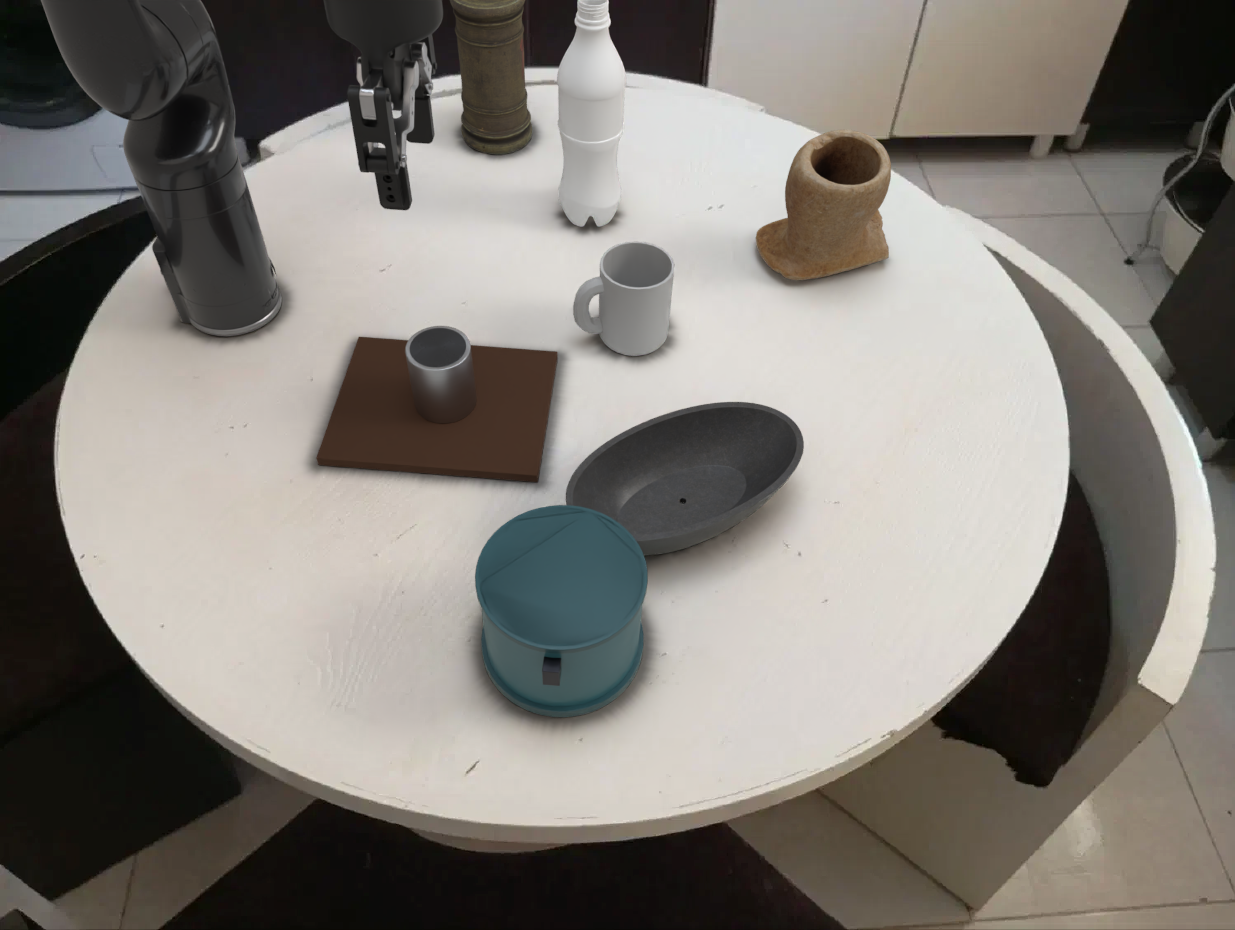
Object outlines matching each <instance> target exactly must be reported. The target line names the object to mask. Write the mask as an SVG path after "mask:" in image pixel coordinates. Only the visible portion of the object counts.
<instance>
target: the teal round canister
mask: <svg viewBox="0 0 1235 930" xmlns="http://www.w3.org/2000/svg"><path fill="white" fill-rule="evenodd" d="M648 576H649V575H648V565H647V560H646V558H645V555H643V552H642V550H641V548H640V546H639V544H638V543H637V541H636V540H635V538H634V537H633V536H632V535H631V534H630V533H629V531H628V530H627V529H626V528H624V527H623V526H622V525H621V524H620V523H618V522H617V521H615V520H614V519H612V518H611V517H609V516H607V515H605V514H603V513H601V512H598V511H595V510H592V509H589V508H584V507H580V506H572V505H566V504H555V505H547V506H541V507H537V508H532V509H530V510H527V511H525V512H523V513H520V514H518V515H516V516H514V517H512V518H511V519H509V520H508V521H506V522H505V523H503V524H502V525H500V527H499V528H497V529H496V530H495V531H494V532H493V533H492V535H491V536H490V537H489V538H488V539H487V541H486V542H485V544H484V545H483V547H482V549H481V551H480V554H479V556H478V558H477V563H476V566H475V574H474V582H475V583H474V585H475V593H476V597H477V600H478V604H479V606H480V609H481V616H482V629H481V637H480V643H481V644H480V645H481V654H482V660H483V665H484V667H485V671H486V673H487V675H488V676H489V679H490V680H491V682H492V683H493V685H494V686H495V688H496V689H497V691H499V693H500V694H502V695H503V696H504V697H505V698H506V699H507V700H508V701H510V702H511V703H512V704H514V705H516V706H517V707H519V708H521V709H523V710H524V711H527V712H530V713H532V714H536V715H539V716H545V717H550V718H570V717H572V718H573V717H579V716H583V715H587V714H590V713H592V712H595V711H598V710H600V709H601V708H604V707H606V706H608V705H609V704H610V703H612V702H614V701H615V700H617V698H618V697H620V696H621V695H622V694H623V693H624V692H625V691H626V689H627V688H628V687H629V686H630V685H631V683H632V682H633V680H634V679H635V677H636V675H637V673H638V671H639V668H640V665H641V662H642V659H643V653H644V641H645V640H644V638H645V637H644V636H645V635H644V627H643V624H642V613H643V605H644V601H645V598H646V595H647V590H648V582H649V581H648V579H649V578H648Z"/></svg>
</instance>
